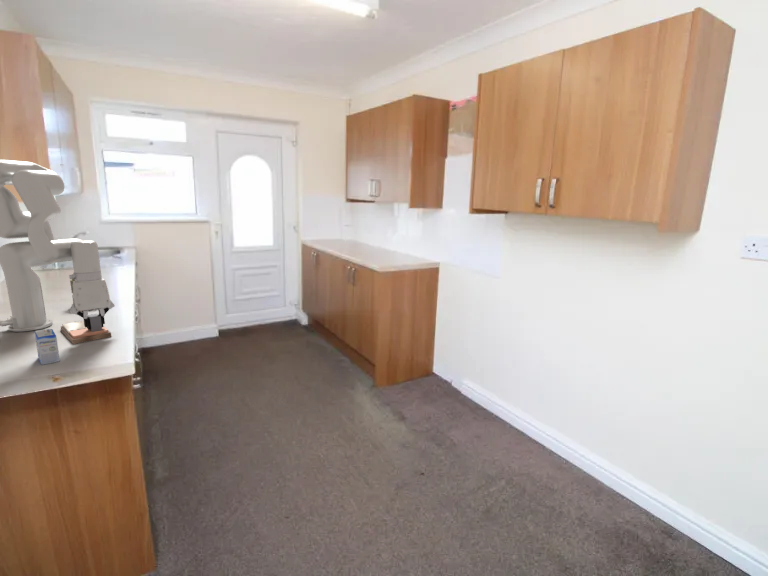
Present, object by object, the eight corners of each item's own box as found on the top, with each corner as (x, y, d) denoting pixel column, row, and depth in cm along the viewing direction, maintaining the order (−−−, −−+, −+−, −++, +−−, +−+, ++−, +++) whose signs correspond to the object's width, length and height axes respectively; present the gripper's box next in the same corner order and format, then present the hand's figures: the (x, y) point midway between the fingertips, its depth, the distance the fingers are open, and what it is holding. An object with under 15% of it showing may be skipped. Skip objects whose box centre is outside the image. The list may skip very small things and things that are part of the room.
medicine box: (38, 357, 126) (33, 330, 125) (56, 354, 129) (52, 327, 128) (41, 365, 121) (36, 337, 119) (60, 361, 124) (56, 334, 122)
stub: (73, 338, 139) (71, 322, 138) (69, 333, 144) (66, 317, 142) (108, 332, 146) (106, 316, 145) (102, 327, 151) (100, 312, 150)
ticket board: (73, 344, 138) (72, 337, 138) (61, 330, 152) (60, 324, 151) (111, 336, 146) (110, 330, 146) (96, 324, 159) (95, 318, 159)
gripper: (60, 281, 134) (69, 335, 138) (118, 275, 145) (124, 325, 149) (56, 277, 139) (64, 330, 143) (112, 272, 150) (118, 320, 154)
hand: (95, 327), depth 146 cm, fingers closed on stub, 3 cm apart
